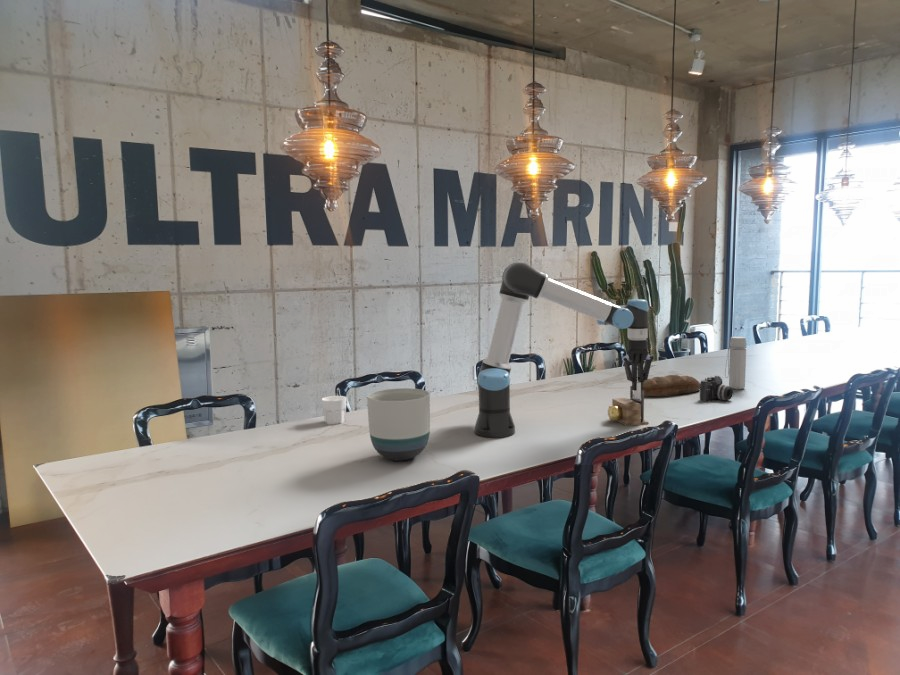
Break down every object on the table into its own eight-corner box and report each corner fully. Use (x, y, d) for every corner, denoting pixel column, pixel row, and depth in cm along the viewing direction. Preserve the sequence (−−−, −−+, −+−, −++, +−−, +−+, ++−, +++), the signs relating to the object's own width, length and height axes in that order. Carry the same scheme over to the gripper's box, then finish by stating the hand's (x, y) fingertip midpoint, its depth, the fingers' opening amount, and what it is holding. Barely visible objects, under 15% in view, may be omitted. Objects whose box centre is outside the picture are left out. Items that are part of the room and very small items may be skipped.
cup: (318, 424, 248) (317, 400, 247) (331, 418, 257) (330, 395, 256) (339, 425, 244) (338, 401, 243) (351, 419, 254) (350, 396, 252)
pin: (614, 422, 236) (614, 407, 235) (607, 418, 241) (607, 404, 240) (643, 419, 238) (643, 405, 237) (636, 416, 243) (636, 402, 243)
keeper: (638, 416, 237) (638, 400, 236) (630, 412, 243) (630, 397, 243) (643, 416, 237) (643, 400, 236) (634, 412, 244) (635, 396, 243)
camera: (720, 404, 264) (721, 381, 263) (697, 400, 273) (697, 378, 272) (736, 399, 273) (737, 377, 272) (713, 395, 282) (713, 374, 281)
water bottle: (746, 387, 297) (747, 336, 294) (744, 390, 291) (745, 338, 288) (725, 385, 302) (727, 336, 299) (723, 388, 296) (724, 337, 293)
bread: (709, 392, 290) (709, 374, 289) (648, 400, 276) (649, 382, 276) (685, 386, 305) (685, 370, 304) (626, 394, 291) (626, 376, 290)
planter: (380, 471, 188) (377, 404, 185) (362, 453, 206) (360, 392, 204) (440, 461, 196) (439, 396, 193) (418, 445, 214) (416, 386, 212)
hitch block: (626, 425, 233) (626, 392, 232) (612, 418, 245) (612, 386, 243) (648, 423, 235) (648, 391, 233) (633, 416, 247) (633, 385, 245)
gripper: (626, 340, 232) (626, 401, 235) (657, 339, 234) (657, 399, 237) (617, 338, 239) (617, 397, 242) (648, 337, 242) (647, 395, 244)
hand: (637, 398), depth 239 cm, fingers closed
